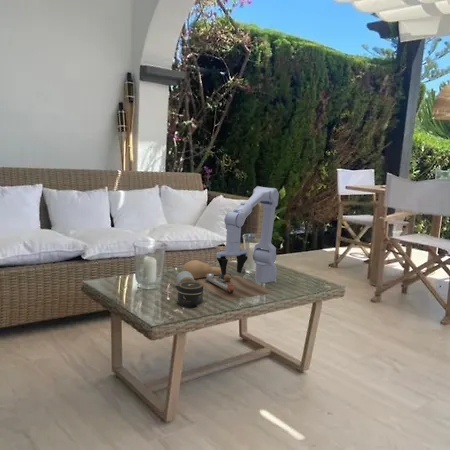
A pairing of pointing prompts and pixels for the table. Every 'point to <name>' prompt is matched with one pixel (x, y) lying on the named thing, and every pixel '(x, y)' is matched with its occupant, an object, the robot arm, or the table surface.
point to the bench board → (236, 288)
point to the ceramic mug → (184, 277)
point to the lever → (220, 283)
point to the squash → (200, 269)
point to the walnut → (227, 277)
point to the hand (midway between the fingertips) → (231, 273)
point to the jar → (190, 294)
